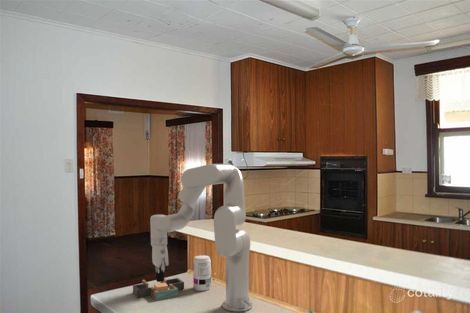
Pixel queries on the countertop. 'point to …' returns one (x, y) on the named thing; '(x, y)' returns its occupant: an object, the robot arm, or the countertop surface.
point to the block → (161, 287)
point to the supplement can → (202, 273)
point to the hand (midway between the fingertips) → (160, 280)
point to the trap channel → (144, 291)
